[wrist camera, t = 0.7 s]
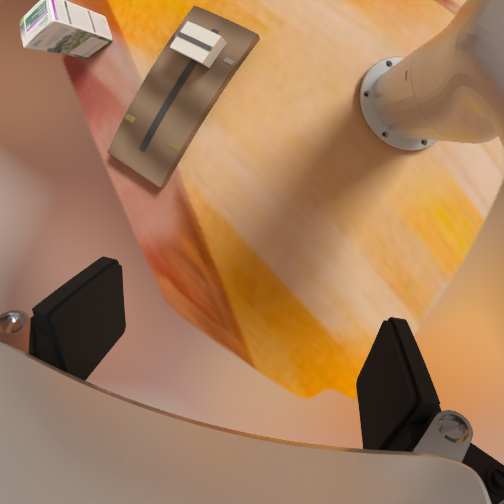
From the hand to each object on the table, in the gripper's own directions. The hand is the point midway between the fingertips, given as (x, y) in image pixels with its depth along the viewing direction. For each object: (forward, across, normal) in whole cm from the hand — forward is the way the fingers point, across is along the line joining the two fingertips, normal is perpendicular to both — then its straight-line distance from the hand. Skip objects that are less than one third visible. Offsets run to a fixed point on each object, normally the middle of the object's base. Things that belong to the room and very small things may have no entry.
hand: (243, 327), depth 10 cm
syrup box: (+32, +33, -20) cm, 50 cm away
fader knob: (+29, +13, -16) cm, 36 cm away
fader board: (+32, +16, -10) cm, 37 cm away
